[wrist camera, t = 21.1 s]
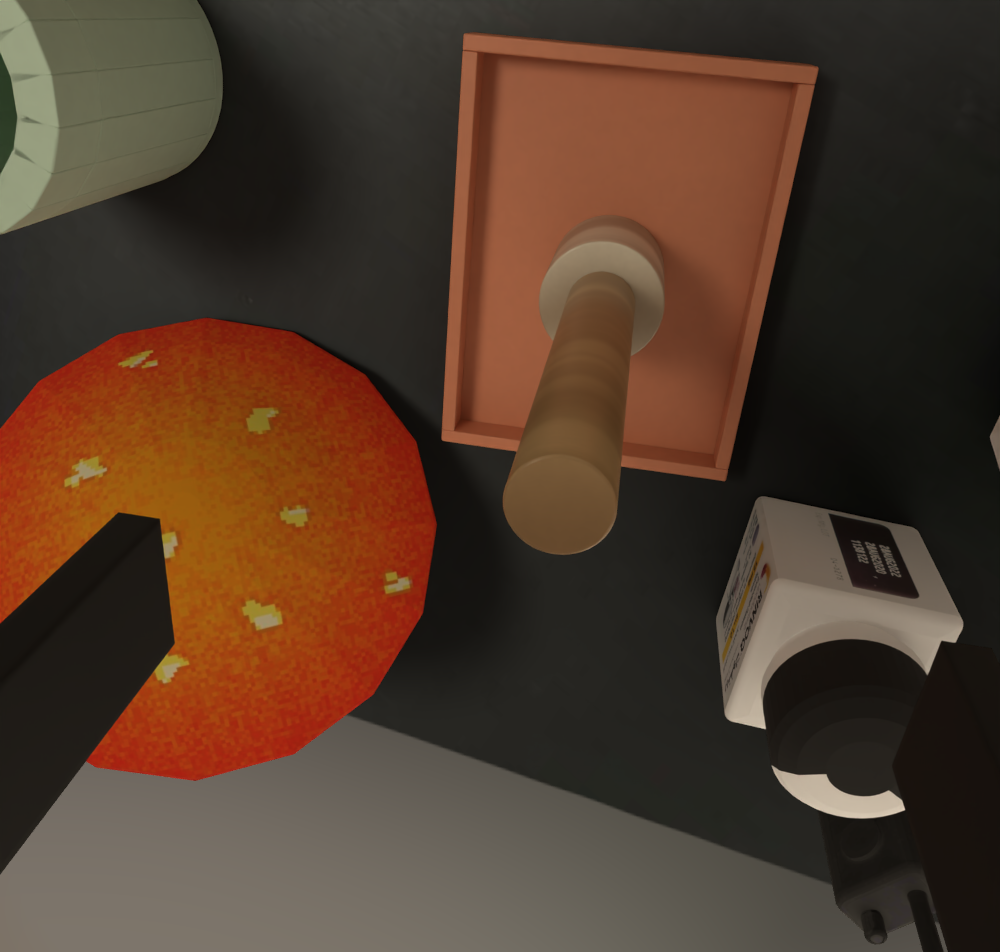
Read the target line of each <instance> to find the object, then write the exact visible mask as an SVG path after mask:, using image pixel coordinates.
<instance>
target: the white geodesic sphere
mask: <svg viewBox="0 0 1000 952" xmlns="http://www.w3.org/2000/svg"><path fill="white" fill-rule="evenodd" d="M990 440H991V443H992V446H993V450H994V453H995V456H996V460H997V463H998V466H999V470H1000V416H999V418H998V421H997V423H996V425H995V427H994V429H993V431H992V433H991V435H990Z"/></svg>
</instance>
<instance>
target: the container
mask: <svg viewBox="0 0 1000 952" xmlns="http://www.w3.org/2000/svg"><path fill="white" fill-rule="evenodd" d="M716 625H717V636H718V647H719V658H720V668H721V679H722V690H723V701H724V712H725V716H726V717H727V719H728V720H730V721H732V722H737V723H741V724H745V725H750V726H754V727H759V728H763V729H766V733H767V740H768V747H769V754H770V760H771V765H772V768H773V770H774V773H775V775H776V776H777V778H778V780H779V781H780V783H781V784H782V785H783V786H784V787H785V789H786V790H787V791H789V792H790V793H791V794H792V795H793V796H795V797H796V798H797V799H799V800H800V801H802V802H804V803H806V804H807V805H809V806H811V807H813V808H815V809H817V810H820V811H823V812H825V813H828V814H832V815H836V816H841V817H847V818H875V817H883V816H887V815H892V814H895V813H898V812H901V811H904V810H905V808H904V805H903V801H902V798H901V795H900V791H899V788H898V785H897V782H896V778H895V775H894V772H893V768H892V764H893V761H894V759H895V756H896V754H897V751H898V749H899V746H900V744H901V741H902V739H903V736H904V734H905V731H906V728H907V726H908V723H909V721H910V718H911V716H912V713H913V711H914V708H915V706H916V703H917V701H918V698H919V696H920V693H921V691H922V688H923V686H924V683H925V681H926V678H927V676H928V673H929V671H930V668H931V666H932V663H933V661H934V658H935V655H936V653H937V650H938V648H939V645H940V643H941V641H947V642H954V643H955V642H956V641H957V639H958V637H959V635H960V633H961V631H962V629H963V620H962V618H961V616H960V614H959V612H958V610H957V608H956V606H955V604H954V602H953V600H952V598H951V596H950V594H949V592H948V590H947V588H946V586H945V584H944V582H943V580H942V578H941V576H940V574H939V572H938V570H937V568H936V566H935V564H934V562H933V560H932V558H931V556H930V554H929V552H928V550H927V548H926V546H925V544H924V542H923V540H922V538H921V536H920V534H919V532H918V531H917V530H916V529H915V528H913V527H909V526H904V525H900V524H895V523H890V522H885V521H880V520H876V519H871V518H866V517H861V516H857V515H852V514H847V513H842V512H838V511H833V510H828V509H823V508H819V507H814V506H809V505H804V504H800V503H795V502H790V501H785V500H780V499H776V498H771V497H766V496H761V497H759V498H757V500H756V501H755V504H754V507H753V510H752V513H751V516H750V519H749V522H748V525H747V528H746V531H745V534H744V537H743V540H742V543H741V546H740V549H739V552H738V555H737V558H736V561H735V564H734V567H733V570H732V573H731V575H730V578H729V581H728V584H727V587H726V590H725V593H724V596H723V599H722V602H721V605H720V608H719V611H718V614H717V617H716Z"/></svg>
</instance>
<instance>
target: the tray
mask: <svg viewBox="0 0 1000 952" xmlns="http://www.w3.org/2000/svg"><path fill="white" fill-rule="evenodd" d="M463 50H464V51H463V53H462V72H461V90H460V108H459V126H458V145H457V163H456V181H455V200H454V218H453V236H452V255H451V273H450V291H449V310H448V328H447V346H446V364H445V383H444V401H443V419H442V441H447V442H454V443H461V444H468V445H475V446H482V447H489V448H496V449H503V450H510V451H517V450H518V447H519V444H520V440H521V437H522V434H523V431H524V428H525V425H526V422H527V419H528V416H529V413H530V410H531V407H532V404H533V401H534V398H535V395H536V392H537V389H538V386H539V383H540V380H541V377H542V374H543V371H544V368H545V364H546V361H547V358H548V355H549V352H550V349H551V346H552V343H553V341H552V339H551V338H550V336H549V335H548V333H547V332H546V330H545V328H544V326H543V323H542V320H541V316H540V312H539V294H540V288H541V285H542V282H543V279H544V277H545V275H546V272H547V270H548V268H549V266H550V263H551V261H552V259H553V257H554V254H555V252H556V250H557V248H558V246H559V244H560V242H561V241H562V239H563V238H564V236H565V235H566V234H567V233H568V232H569V231H570V230H571V229H572V228H573V227H575V226H576V225H578V224H579V223H581V222H583V221H585V220H587V219H590V218H592V217H596V216H601V215H617V216H622V217H626V218H629V219H631V220H633V221H635V222H637V223H639V224H640V225H642V226H643V227H644V228H645V229H647V230H648V231H649V232H650V233H651V235H652V236H653V237H654V238H655V240H656V242H657V243H658V245H659V247H660V249H661V253H662V256H663V261H664V285H665V306H664V314H663V318H662V321H661V324H660V326H659V328H658V330H657V332H656V334H655V335H654V337H653V338H652V339H651V341H650V342H649V343H648V344H647V345H646V346H645V347H644V348H643V349H641V350H640V351H639V352H637V353H636V354H634V355H632V356H631V359H630V370H629V381H628V393H627V404H626V415H625V426H624V438H623V449H622V460H621V466H622V467H629V468H636V469H643V470H650V471H657V472H664V473H671V474H678V475H685V476H692V477H699V478H706V479H713V480H720V481H725V480H726V477H727V473H728V468H729V464H730V460H731V455H732V451H733V446H734V442H735V438H736V433H737V429H738V424H739V420H740V415H741V411H742V407H743V402H744V398H745V393H746V389H747V384H748V380H749V376H750V371H751V367H752V362H753V358H754V353H755V349H756V344H757V340H758V336H759V331H760V327H761V322H762V318H763V313H764V309H765V305H766V300H767V296H768V291H769V287H770V282H771V278H772V274H773V269H774V265H775V260H776V256H777V251H778V247H779V242H780V238H781V234H782V229H783V225H784V220H785V216H786V211H787V207H788V203H789V198H790V194H791V189H792V185H793V180H794V176H795V172H796V167H797V163H798V158H799V154H800V149H801V145H802V140H803V136H804V132H805V127H806V123H807V118H808V114H809V109H810V105H811V101H812V96H813V92H814V85H813V84H815V83H816V78H817V74H818V70H819V69H818V67H816V66H814V65H811V64H803V63H793V62H782V61H772V60H761V59H751V58H740V57H729V56H719V55H708V54H698V53H687V52H677V51H666V50H656V49H645V48H635V47H624V46H614V45H603V44H592V43H582V42H571V41H561V40H550V39H540V38H529V37H519V36H508V35H498V34H487V33H477V32H472V33H465V34H464V36H463Z"/></svg>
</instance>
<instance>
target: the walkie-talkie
mask: <svg viewBox="0 0 1000 952" xmlns="http://www.w3.org/2000/svg"><path fill="white" fill-rule="evenodd" d="M818 815H819V820H820V825H821V830H822V835H823V840H824V845H825V850H826V855H827V860H828V865H829V870H830V875H831V881H832V886H833V891H834V896H835V901H836V904H837V906H838V908H839V909H840V910H841V911H842V912H843V913H844V914H845V915H846V916H847V917H848V918H850V919H851V920H852V921H853V922H854V923H855V924H856V925H857V926H858V927H860V928H861V929H862V930H863V931H864V935H865V938H866V939H867V941H868V942H870V943H872V944H882V943H884V942H885V941H886V939H887V933H889V932H891V931H894V930H896V929H899V928H901V927H904V926H906V925H908V924H911V923H913V922H915V924H916V928H917V932H918V935H919V939H920V942H921V946H922V950H923V952H944V951H943V948H942V945H941V941H940V938H939V935H938V932H937V928H936V925H935V921H934V918H933V915H932V914H935V913H936V910H935V907H934V904H933V900H932V897H931V894H930V891H929V887H928V884H927V881H926V877H925V874H924V871H923V867H922V864H921V861H920V858H919V854H918V851H917V848H916V844H915V841H914V838H913V834H912V831H911V828H910V825H909V821H908V818H907V815H906V811H905V810H904V811H901V812H898V813H895V814H892V815H887V816H883V817H875V818H847V817H841V816H836V815H832V814H828V813H825V812H823V811H820V810H818Z"/></svg>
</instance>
